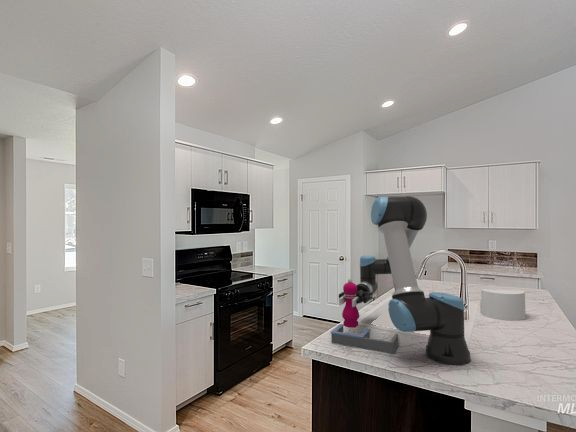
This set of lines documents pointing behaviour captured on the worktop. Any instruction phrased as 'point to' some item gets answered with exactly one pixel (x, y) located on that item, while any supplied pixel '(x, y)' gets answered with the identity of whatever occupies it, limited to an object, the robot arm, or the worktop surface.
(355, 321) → the pepper mill
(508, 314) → the container
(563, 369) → the worktop surface
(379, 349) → the divider rack
